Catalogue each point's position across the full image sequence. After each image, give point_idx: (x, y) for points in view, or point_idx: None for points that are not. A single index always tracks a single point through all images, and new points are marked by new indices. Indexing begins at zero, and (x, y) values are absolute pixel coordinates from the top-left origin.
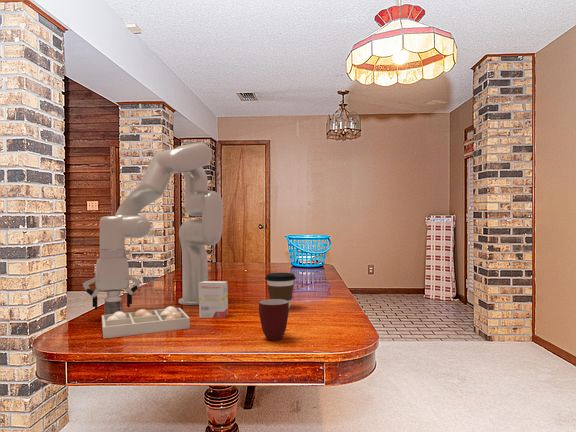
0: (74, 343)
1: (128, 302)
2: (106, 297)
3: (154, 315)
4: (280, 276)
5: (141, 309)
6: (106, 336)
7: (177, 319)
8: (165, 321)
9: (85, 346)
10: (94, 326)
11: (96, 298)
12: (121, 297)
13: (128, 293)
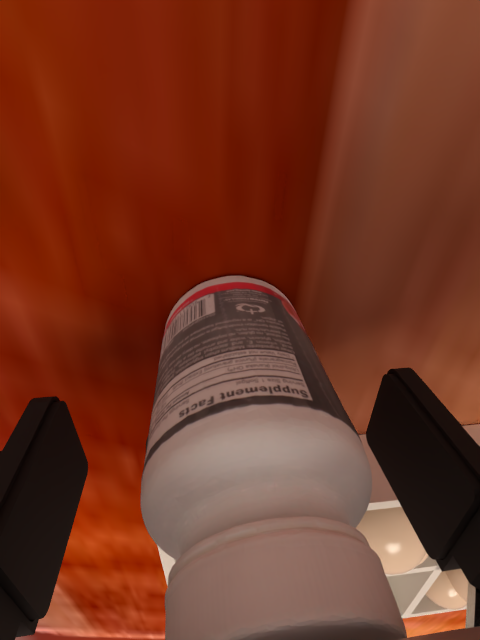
0: (85, 592)
1: (394, 480)
2: (162, 521)
3: (423, 569)
4: None
5: (399, 573)
6: None
7: (461, 608)
8: (415, 611)
9: (133, 610)
10: (110, 428)
11: (36, 611)
12: (360, 519)
13: (471, 573)
